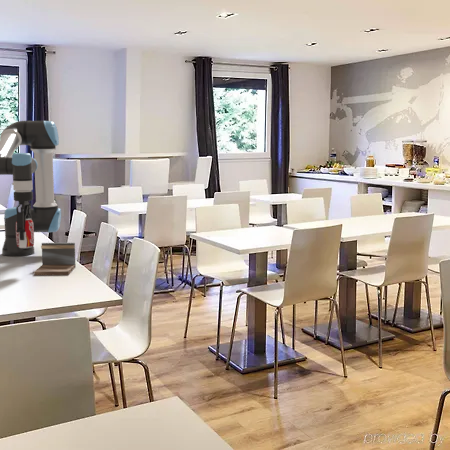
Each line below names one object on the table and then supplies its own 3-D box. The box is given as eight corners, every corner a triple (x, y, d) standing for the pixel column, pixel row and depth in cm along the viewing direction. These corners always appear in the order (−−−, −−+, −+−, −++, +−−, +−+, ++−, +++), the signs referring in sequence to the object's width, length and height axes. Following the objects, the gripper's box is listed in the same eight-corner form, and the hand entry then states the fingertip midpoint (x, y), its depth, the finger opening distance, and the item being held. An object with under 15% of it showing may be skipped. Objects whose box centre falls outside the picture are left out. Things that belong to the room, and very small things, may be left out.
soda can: (28, 249, 249) (27, 220, 248) (13, 248, 251) (11, 219, 249) (37, 246, 256) (36, 217, 254) (22, 245, 258) (21, 217, 256)
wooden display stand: (43, 267, 268) (42, 242, 266) (75, 267, 269) (74, 242, 267) (34, 275, 252) (33, 249, 250) (68, 275, 253) (67, 249, 251)
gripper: (20, 188, 260) (22, 241, 263) (6, 193, 240) (9, 250, 243) (38, 188, 260) (40, 241, 264) (26, 193, 240) (28, 250, 244)
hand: (25, 245), depth 253 cm, fingers closed on soda can, 7 cm apart
